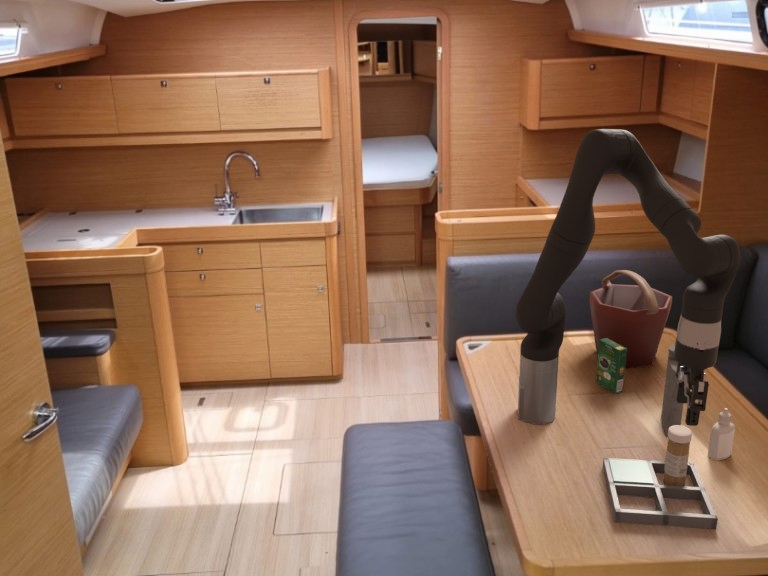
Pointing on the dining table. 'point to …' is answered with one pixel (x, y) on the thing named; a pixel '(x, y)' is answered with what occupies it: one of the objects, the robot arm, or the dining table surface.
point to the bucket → (630, 317)
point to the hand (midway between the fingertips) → (686, 413)
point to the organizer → (655, 494)
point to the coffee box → (611, 365)
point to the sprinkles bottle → (677, 455)
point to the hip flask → (671, 395)
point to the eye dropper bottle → (721, 437)
